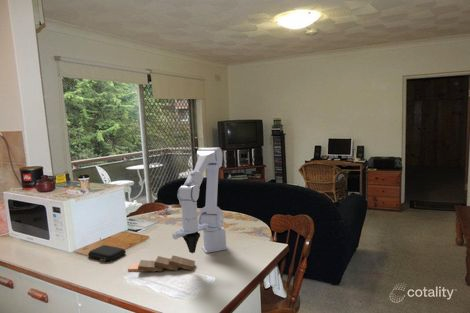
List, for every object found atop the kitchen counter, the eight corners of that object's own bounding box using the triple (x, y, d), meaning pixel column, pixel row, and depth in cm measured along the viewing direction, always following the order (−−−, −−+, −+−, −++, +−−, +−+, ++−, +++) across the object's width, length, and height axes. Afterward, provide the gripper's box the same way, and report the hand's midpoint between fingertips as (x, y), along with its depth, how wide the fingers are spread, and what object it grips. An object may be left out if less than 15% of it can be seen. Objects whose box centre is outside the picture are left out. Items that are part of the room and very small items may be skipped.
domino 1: (164, 261, 127) (140, 259, 126) (162, 268, 122) (138, 266, 121) (164, 265, 127) (140, 263, 126) (162, 272, 122) (137, 270, 121)
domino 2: (180, 261, 127) (158, 256, 127) (178, 267, 122) (154, 261, 122) (179, 265, 127) (157, 259, 127) (177, 271, 122) (154, 265, 122)
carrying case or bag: (84, 259, 138) (108, 265, 131) (83, 252, 138) (107, 257, 131) (104, 249, 148) (128, 254, 141) (104, 243, 147) (127, 248, 140)
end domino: (155, 263, 128) (133, 263, 129) (150, 268, 123) (127, 268, 124) (155, 267, 128) (133, 267, 129) (151, 273, 123) (128, 272, 124)
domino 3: (195, 261, 126) (172, 255, 127) (192, 266, 122) (169, 260, 122) (194, 264, 127) (172, 259, 127) (191, 270, 122) (168, 264, 122)
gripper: (199, 210, 129) (201, 243, 131) (167, 219, 120) (169, 255, 121) (210, 214, 124) (212, 248, 126) (177, 223, 114) (180, 260, 116)
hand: (192, 252), depth 123 cm, fingers closed
